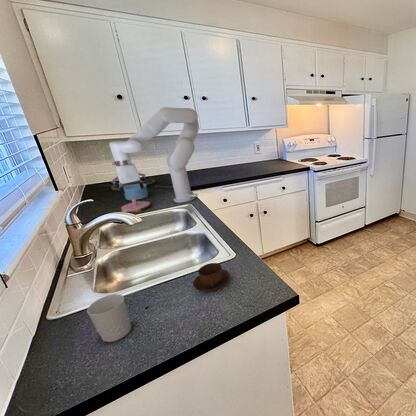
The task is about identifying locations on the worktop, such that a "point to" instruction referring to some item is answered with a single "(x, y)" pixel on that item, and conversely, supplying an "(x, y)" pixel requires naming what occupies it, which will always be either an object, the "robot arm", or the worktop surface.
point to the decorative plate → (146, 181)
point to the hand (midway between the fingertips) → (133, 190)
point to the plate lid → (135, 205)
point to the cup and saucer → (211, 277)
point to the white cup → (110, 317)
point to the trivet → (136, 210)
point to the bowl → (135, 192)
